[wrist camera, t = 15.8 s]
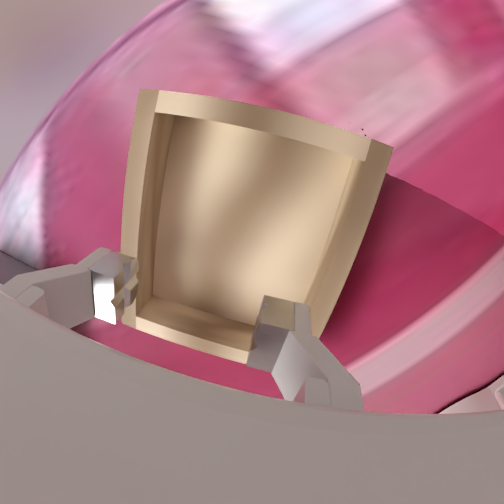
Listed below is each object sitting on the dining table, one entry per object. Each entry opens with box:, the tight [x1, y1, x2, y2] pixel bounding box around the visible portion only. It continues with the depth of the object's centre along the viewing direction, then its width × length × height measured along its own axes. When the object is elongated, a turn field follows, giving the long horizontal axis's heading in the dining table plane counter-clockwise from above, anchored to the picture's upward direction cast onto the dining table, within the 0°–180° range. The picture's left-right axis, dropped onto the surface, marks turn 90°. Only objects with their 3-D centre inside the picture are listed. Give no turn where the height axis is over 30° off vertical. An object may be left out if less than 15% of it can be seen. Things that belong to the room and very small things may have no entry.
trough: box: [121, 89, 393, 364], centre depth 14 cm, size 11×13×3 cm
